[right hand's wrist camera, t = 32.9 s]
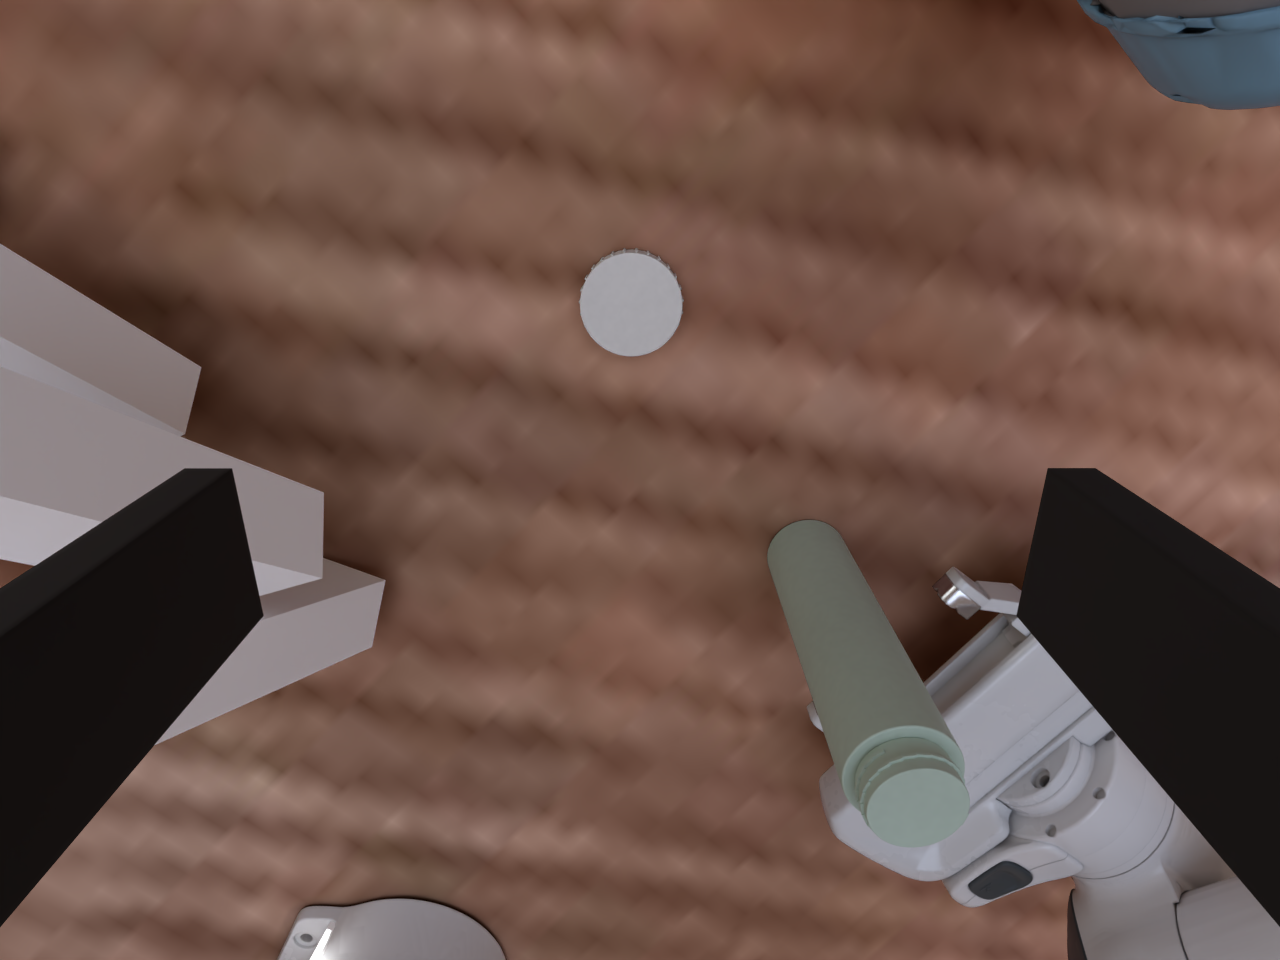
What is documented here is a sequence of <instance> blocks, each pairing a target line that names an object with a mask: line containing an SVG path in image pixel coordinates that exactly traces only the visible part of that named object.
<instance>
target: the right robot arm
mask: <svg viewBox="0 0 1280 960" xmlns="http://www.w3.org/2000/svg"><path fill="white" fill-rule="evenodd" d="M1077 1H1078V3H1079V4H1080V6H1081V8H1082V9H1083V11H1084V12H1085V14H1087V15H1088V16H1089V17H1090V18H1091V19H1092V20H1094V21H1095V22H1096V23H1099V24H1101V25H1103V26H1105V27H1107V28H1108V30H1109V31H1110V32H1111V34H1112V35H1113V36H1114V38H1115V39H1116V40H1117V42H1118V43H1119V44H1120V46H1121V47H1122V48H1123V50H1124V51H1125V52H1126V54H1127V55H1128V57H1129V58H1130V59H1131V61H1132V62H1133V63H1134V65H1135V66H1136V67H1137V69H1138V70H1139V71H1140V73H1141V74H1142V75H1143V77H1144V78H1145V79H1146V80H1147V82H1148V83H1149V84H1150V85H1151V86H1152V87H1154V88H1155V89H1156V90H1158V91H1159V92H1160V93H1162V94H1163V95H1165V96H1167V97H1169V98H1171V99H1173V100H1175V101H1181V102H1187V103H1194V104H1202V105H1204V106H1206V107H1209V108H1213V109H1223V110H1235V109H1254V108H1265V107H1273V106H1280V0H1077ZM263 616H264V615H263V610H262V606H261V601H260V596H259V592H258V587H257V582H256V577H255V573H254V568H253V563H252V559H251V554H250V549H249V545H248V540H247V535H246V531H245V526H244V521H243V517H242V512H241V507H240V503H239V498H238V493H237V489H236V484H235V479H234V475H233V470H232V468H184V469H183V470H181V471H180V472H178V473H177V474H175V475H174V476H172V477H170V478H169V479H167V480H166V481H164V482H163V483H161V484H160V485H158V486H157V487H155V488H154V489H152V490H151V491H149V492H147V493H146V494H144V495H143V496H141V497H140V498H138V499H137V500H135V501H134V502H132V503H131V504H129V505H128V506H126V507H124V508H123V509H121V510H120V511H118V512H117V513H115V514H114V515H112V516H111V517H109V518H108V519H106V520H105V521H103V522H101V523H100V524H98V525H97V526H95V527H94V528H92V529H91V530H89V531H88V532H86V533H85V534H83V535H82V536H80V537H78V538H77V539H75V540H74V541H72V542H71V543H69V544H68V545H66V546H65V547H63V548H62V549H60V550H59V551H57V552H55V553H54V554H52V555H51V556H49V557H48V558H46V559H45V560H43V561H42V562H40V563H39V564H37V565H36V566H34V567H32V568H31V569H29V570H28V571H26V572H25V573H23V574H22V575H20V576H19V577H17V578H16V579H14V580H13V581H11V582H9V583H8V584H6V585H5V586H3V587H2V588H0V927H1V926H2V924H3V923H4V922H5V921H6V920H7V918H8V917H9V916H10V915H11V914H12V913H13V911H14V910H15V909H16V908H17V907H18V905H19V904H20V903H21V902H22V901H23V900H24V898H25V897H26V896H27V895H28V894H29V892H30V891H31V890H32V889H33V888H34V887H35V885H36V884H37V883H38V882H39V881H40V879H41V878H42V877H43V876H44V875H45V874H46V872H47V871H48V870H49V869H50V868H51V866H52V865H53V864H54V863H55V862H56V861H57V859H58V858H59V857H60V856H61V855H62V853H63V852H64V851H65V850H66V849H67V848H68V846H69V845H70V844H71V843H72V842H73V841H74V839H75V838H76V837H77V836H78V835H79V833H80V832H81V831H82V830H83V829H84V828H85V826H86V825H87V824H88V823H89V822H90V820H91V819H92V818H93V817H94V816H95V815H96V813H97V812H98V811H99V810H100V809H101V807H102V806H103V805H104V804H105V803H106V802H107V800H108V799H109V798H110V797H111V796H112V794H113V793H114V792H115V791H116V790H117V789H118V787H119V786H120V785H121V784H122V783H123V781H124V780H125V779H126V778H127V777H128V776H129V774H130V773H131V772H132V771H133V770H134V768H135V767H136V766H137V765H138V764H139V763H140V761H141V760H142V759H143V758H144V757H145V755H146V754H147V753H148V752H149V751H150V750H151V748H152V747H153V746H154V745H155V744H156V742H157V741H158V740H159V739H160V738H161V737H162V735H163V734H164V733H165V732H166V731H167V729H168V728H169V727H170V726H171V725H172V724H173V722H174V721H175V720H176V719H177V718H178V716H179V715H180V714H181V713H182V712H183V711H184V709H185V708H186V707H187V706H188V705H189V703H190V702H191V701H192V700H193V699H194V698H195V696H196V695H197V694H198V693H199V692H200V690H201V689H202V688H203V687H204V686H205V685H206V683H207V682H208V681H209V680H210V679H211V677H212V676H213V675H214V674H215V673H216V672H217V670H218V669H219V668H220V667H221V666H222V664H223V663H224V662H225V661H226V660H227V659H228V657H229V656H230V655H231V654H232V653H233V652H234V650H235V649H236V648H237V647H238V646H239V644H240V643H241V642H242V641H243V640H244V639H245V637H246V636H247V635H248V634H249V633H250V631H251V630H252V629H253V628H254V627H255V626H256V624H257V623H258V622H259V621H260V620H261V618H262V617H263ZM1016 616H1017V617H1018V618H1019V620H1020V621H1021V622H1022V623H1023V624H1024V626H1025V627H1026V628H1027V629H1028V630H1029V631H1030V633H1031V634H1032V635H1033V636H1034V637H1035V639H1036V640H1037V641H1038V642H1039V643H1040V644H1041V646H1042V647H1043V648H1044V649H1045V650H1046V652H1047V653H1048V654H1049V655H1050V656H1051V657H1052V659H1053V660H1054V661H1055V662H1056V663H1057V664H1058V666H1059V667H1060V668H1061V669H1062V670H1063V672H1064V673H1065V674H1066V675H1067V676H1068V677H1069V679H1070V680H1071V681H1072V682H1073V683H1074V685H1075V686H1076V687H1077V688H1078V689H1079V690H1080V692H1081V693H1082V694H1083V695H1084V696H1085V698H1086V699H1087V700H1088V701H1089V702H1090V703H1091V705H1092V706H1093V707H1094V708H1095V709H1096V711H1097V712H1098V713H1099V714H1100V715H1101V716H1102V718H1103V719H1104V720H1105V721H1106V722H1107V724H1108V725H1109V726H1110V727H1111V728H1112V729H1113V731H1114V732H1115V733H1116V734H1117V735H1118V737H1119V738H1120V739H1121V740H1122V741H1123V742H1124V744H1125V745H1126V746H1127V747H1128V748H1129V750H1130V751H1131V752H1132V753H1133V754H1134V755H1135V757H1136V758H1137V759H1138V760H1139V761H1140V763H1141V764H1142V765H1143V766H1144V767H1145V768H1146V770H1147V771H1148V772H1149V773H1150V774H1151V776H1152V777H1153V778H1154V779H1155V780H1156V781H1157V783H1158V784H1159V785H1160V786H1161V787H1162V789H1163V790H1164V791H1165V792H1166V793H1167V794H1168V796H1169V797H1170V798H1171V799H1172V800H1173V802H1174V803H1175V804H1176V805H1177V806H1178V807H1179V809H1180V810H1181V811H1182V812H1183V813H1184V815H1185V816H1186V817H1187V818H1188V819H1189V820H1190V822H1191V823H1192V824H1193V825H1194V826H1195V828H1196V829H1197V830H1198V831H1199V832H1200V833H1201V835H1202V836H1203V837H1204V838H1205V839H1206V841H1207V842H1208V843H1209V844H1210V845H1211V846H1212V848H1213V849H1214V850H1215V851H1216V852H1217V853H1218V855H1219V856H1220V857H1221V858H1222V859H1223V861H1224V862H1225V863H1226V864H1227V865H1228V866H1229V868H1230V869H1231V870H1232V871H1233V872H1234V874H1235V875H1236V876H1237V877H1238V878H1239V879H1240V881H1241V882H1242V883H1243V884H1244V885H1245V887H1246V888H1247V889H1248V890H1249V891H1250V892H1251V894H1252V895H1253V896H1254V897H1255V898H1256V900H1257V901H1258V902H1259V903H1260V904H1261V905H1262V907H1263V908H1264V909H1265V910H1266V911H1267V913H1268V914H1269V915H1270V916H1271V917H1272V918H1273V920H1274V921H1275V922H1276V923H1277V924H1278V926H1279V927H1280V588H1278V587H1277V586H1275V585H1274V584H1272V583H1271V582H1269V581H1267V580H1266V579H1264V578H1263V577H1261V576H1260V575H1258V574H1257V573H1255V572H1254V571H1252V570H1251V569H1249V568H1248V567H1246V566H1244V565H1243V564H1241V563H1240V562H1238V561H1237V560H1235V559H1234V558H1232V557H1231V556H1229V555H1228V554H1226V553H1225V552H1223V551H1221V550H1220V549H1218V548H1217V547H1215V546H1214V545H1212V544H1211V543H1209V542H1208V541H1206V540H1205V539H1203V538H1202V537H1200V536H1198V535H1197V534H1195V533H1194V532H1192V531H1191V530H1189V529H1188V528H1186V527H1185V526H1183V525H1182V524H1180V523H1179V522H1177V521H1175V520H1174V519H1172V518H1171V517H1169V516H1168V515H1166V514H1165V513H1163V512H1162V511H1160V510H1159V509H1157V508H1156V507H1154V506H1152V505H1151V504H1149V503H1148V502H1146V501H1145V500H1143V499H1142V498H1140V497H1139V496H1137V495H1136V494H1134V493H1133V492H1131V491H1129V490H1128V489H1126V488H1125V487H1123V486H1122V485H1120V484H1119V483H1117V482H1116V481H1114V480H1113V479H1111V478H1110V477H1108V476H1106V475H1105V474H1103V473H1102V472H1100V471H1099V470H1097V469H1096V468H1048V470H1047V475H1046V479H1045V484H1044V489H1043V493H1042V498H1041V503H1040V507H1039V512H1038V517H1037V521H1036V526H1035V531H1034V535H1033V540H1032V545H1031V549H1030V554H1029V559H1028V563H1027V568H1026V573H1025V577H1024V582H1023V587H1022V592H1021V596H1020V601H1019V606H1018V610H1017V615H1016Z"/></svg>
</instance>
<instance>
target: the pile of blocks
mask: <svg viewBox="0 0 1280 960" xmlns="http://www.w3.org/2000/svg"><path fill="white" fill-rule="evenodd" d="M200 371H201V367H200V366H199V365H197V364H195V363H194V362H192V361H191V360H189V359H187V358H186V357H184V356H182V355H181V354H179V353H178V352H176V351H174V350H173V349H171V348H169V347H168V346H166V345H165V344H163V343H161V342H160V341H158V340H156V339H155V338H153V337H151V336H150V335H148V334H147V333H145V332H143V331H142V330H140V329H138V328H137V327H135V326H134V325H132V324H130V323H129V322H127V321H125V320H124V319H122V318H121V317H119V316H117V315H116V314H114V313H112V312H111V311H109V310H108V309H106V308H104V307H103V306H101V305H99V304H98V303H96V302H94V301H93V300H91V299H90V298H88V297H86V296H85V295H83V294H81V293H80V292H78V291H77V290H75V289H73V288H72V287H70V286H68V285H67V284H65V283H64V282H62V281H60V280H59V279H57V278H55V277H54V276H52V275H50V274H49V273H47V272H46V271H44V270H42V269H41V268H39V267H37V266H36V265H34V264H33V263H31V262H29V261H28V260H26V259H24V258H23V257H21V256H20V255H18V254H16V253H15V252H13V251H11V250H10V249H8V248H6V247H5V246H3V245H2V244H0V559H2V560H7V561H13V562H18V563H23V564H29V565H34V566H36V565H37V564H39V563H40V562H42V561H43V560H45V559H46V558H48V557H49V556H51V555H52V554H54V553H55V552H57V551H59V550H60V549H62V548H63V547H65V546H66V545H68V544H69V543H71V542H72V541H74V540H75V539H77V538H78V537H80V536H82V535H83V534H85V533H86V532H88V531H89V530H91V529H92V528H94V527H95V526H97V525H98V524H100V523H101V522H103V521H105V520H106V519H108V518H109V517H111V516H112V515H114V514H115V513H117V512H118V511H120V510H121V509H123V508H124V507H126V506H128V505H129V504H131V503H132V502H134V501H135V500H137V499H138V498H140V497H141V496H143V495H144V494H146V493H147V492H149V491H151V490H152V489H154V488H155V487H157V486H158V485H160V484H161V483H163V482H164V481H166V480H167V479H169V478H170V477H172V476H174V475H175V474H177V473H178V472H180V471H181V470H183V469H184V468H232V470H233V475H234V479H235V484H236V489H237V493H238V498H239V503H240V507H241V512H242V517H243V521H244V526H245V531H246V535H247V540H248V545H249V549H250V554H251V559H252V563H253V568H254V573H255V577H256V582H257V587H258V592H259V596H260V601H261V606H262V610H263V615H264V616H263V617H262V618H261V620H260V621H259V622H258V623H257V624H256V626H255V627H254V628H253V629H252V630H251V631H250V633H249V634H248V635H247V636H246V637H245V639H244V640H243V641H242V642H241V643H240V644H239V646H238V647H237V648H236V649H235V650H234V652H233V653H232V654H231V655H230V656H229V657H228V659H227V660H226V661H225V662H224V663H223V664H222V666H221V667H220V668H219V669H218V670H217V672H216V673H215V674H214V675H213V676H212V677H211V679H210V680H209V681H208V682H207V683H206V685H205V686H204V687H203V688H202V689H201V690H200V692H199V693H198V694H197V695H196V696H195V698H194V699H193V700H192V701H191V702H190V703H189V705H188V706H187V707H186V708H185V709H184V711H183V712H182V713H181V714H180V715H179V716H178V718H177V719H176V720H175V721H174V722H173V724H172V725H171V726H170V727H169V728H168V729H167V731H166V732H165V733H164V734H163V735H162V737H161V738H160V739H159V740H158V741H157V742H156V744H158V743H161V742H163V741H165V740H167V739H169V738H172V737H174V736H176V735H178V734H180V733H183V732H185V731H187V730H189V729H192V728H194V727H196V726H198V725H200V724H203V723H205V722H207V721H209V720H211V719H214V718H216V717H218V716H220V715H223V714H225V713H227V712H229V711H231V710H234V709H236V708H238V707H240V706H242V705H245V704H247V703H249V702H251V701H253V700H256V699H258V698H260V697H262V696H265V695H267V694H269V693H271V692H273V691H276V690H278V689H280V688H282V687H284V686H287V685H289V684H291V683H293V682H296V681H298V680H300V679H302V678H304V677H307V676H309V675H311V674H313V673H315V672H318V671H320V670H322V669H324V668H327V667H329V666H331V665H333V664H335V663H338V662H340V661H342V660H344V659H346V658H349V657H351V656H353V655H355V654H358V653H360V652H362V651H364V650H366V649H369V648H371V647H372V645H373V640H374V635H375V630H376V625H377V620H378V615H379V610H380V605H381V600H382V595H383V590H384V586H385V581H386V580H384V579H381V578H379V577H376V576H373V575H370V574H367V573H365V572H362V571H359V570H356V569H353V568H351V567H348V566H345V565H342V564H339V563H337V562H334V561H331V560H328V559H325V558H323V518H324V492H322V491H319V490H316V489H314V488H311V487H309V486H306V485H304V484H301V483H298V482H296V481H293V480H291V479H288V478H286V477H283V476H280V475H278V474H275V473H273V472H270V471H268V470H265V469H262V468H260V467H257V466H255V465H252V464H250V463H247V462H245V461H242V460H239V459H237V458H234V457H232V456H229V455H227V454H224V453H221V452H219V451H216V450H214V449H211V448H209V447H206V446H203V445H201V444H198V443H196V442H193V441H191V440H188V439H185V438H183V437H180V436H182V435H184V434H185V433H186V428H187V424H188V420H189V416H190V412H191V408H192V404H193V400H194V396H195V392H196V388H197V384H198V379H199V375H200ZM156 744H155V745H156Z"/></svg>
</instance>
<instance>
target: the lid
mask: <svg viewBox="0 0 1280 960" xmlns="http://www.w3.org/2000/svg"><path fill="white" fill-rule="evenodd" d="M591 269H592V270H591V272H590V273H589V275H586V277H585V280H586V281H585V283H584V285H583V286H582V288H581V290H580V291H582V292H581V297H580V300H579V303H580V315H581V317H582V320H583V323H584V327H585V328H586V330H587V332H588V333H589V334H590V336H591V337H592V338H593V340H594V341H595V342H596V343H598V344H599V345H600V346H601V347H603V348H604V349H606V350H608V351H610V352H612V353H614V354H617V355H622V356H631V357H632V356H641V355H645V354H648V353H651V352H653V351H655V350H657V349H659V348H660V347H662V346H663V345H664V344H665V343H666V342H667V341H668V340H669V339H670V338H671V337H672V336H673V335H674V332H675V331H676V329H677V327H678V325H679V324H680V323H679V322H680V319H681V314H683V311H682V302H684V300H683V297H682V295H681V291H680V290H682V288H681V286H680V284H678V282H677V280H676V278H677V276H676V274H675V273H674V274H673V272H672V270H671V269H670V266H669V264H668V263H667V264H666V263H664V262H663V261H662V260H661V259H660V256H658V257H657V256H655V255H653V254H651V253H649V251H648V250H647V252H646V251H642V250H638V248H635V250H634V249H628V250H626V248H623V250H621V251H617V252H614V251H612V253H611V254H610V255H608V256H606V257H602V258H601V260H600V261H599V262H598V263H597V264H596V265H593V266H592V268H591Z"/></svg>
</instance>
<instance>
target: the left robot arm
mask: <svg viewBox="0 0 1280 960" xmlns="http://www.w3.org/2000/svg"><path fill="white" fill-rule="evenodd" d="M932 587H933V589H934V590H935V591H937V592H938V596H939V597H940V598H941V599H942V601H944V602H945V603H946V604H947V605H948V606H949V607H951V608H955V610H956V611H957V612H958V613H959V614H960V615H961V616H963V617H964V618H965V619H967V620H968V619H969V618H970V617H971V616H972V615H973V614H974V613H976V612H977V611H978V610H979V609H980V610H986V611H992V612H999V614H998V615H997V616H996V617H995V618H994V619H992V620H991V621H990V622H989V623H988V624H987V625H986V626H985V627H984V628H983V629H982V630H980V631H979V632H978V633H977V634H976V635H975V636H974V637H973V638H972V639H971V640H970V641H968V642H967V643H966V644H965V645H964V646H963V647H962V648H961V649H960V650H959V651H957V652H956V653H955V654H954V655H953V656H952V657H951V658H950V659H949V660H948V661H946V662H945V663H944V664H943V665H942V666H941V667H940V668H939V669H938V670H937V671H936V672H934V673H933V674H932V675H931V676H930V677H929V678H928V679H927V680H926V681H925V682H924V683H923V684H924V685H925V687H926V689H927V691H928V692H929V694H930V696H931V698H932V700H933V701H934V703H935V705H936V707H937V709H938V710H939V712H940V714H941V716H942V717H943V719H944V721H945V723H946V725H947V726H948V728H949V730H950V732H951V734H952V735H953V737H954V739H955V741H956V742H957V744H958V746H959V748H960V750H961V752H962V754H963V757H964V763H965V772H964V779H965V787H966V789H967V790H968V793H969V798H970V807H969V812H968V814H969V815H968V817H967V818H966V820H965V822H964V824H963V825H961V826H960V827H959V828H958V829H957V830H956V831H955V832H954V833H953V834H952V835H950V836H949V837H947V838H945V839H944V840H942V841H939V842H937V843H935V844H931V845H928V846H923V847H900V846H895V845H892V844H890V843H887V842H885V841H883V840H882V839H880V838H879V837H878V836H877V835H876V834H875V833H874V832H873V831H872V830H871V829H870V828H869V827H868V826H867V825H866V823H865V821H864V819H863V817H862V815H861V812H860V811H858V810H857V809H856V808H855V807H854V806H852V804H851V803H850V802H849V801H848V799H847V798H846V796H845V794H844V792H843V789H842V786H841V783H840V780H839V777H838V774H837V771H836V768H835V765H832V766H831V767H830V768H829V769H828V770H827V771H826V772H825V773H824V774H823V775H822V776H821V777H820V779H819V789H820V796H821V801H822V805H823V809H824V813H825V816H826V819H827V822H828V824H829V826H830V828H831V830H832V832H833V833H834V835H835V836H836V837H837V838H838V839H839V840H840V841H842V842H843V843H844V844H846V845H847V846H849V847H850V848H852V849H854V850H855V851H857V852H859V853H860V854H862V855H864V856H866V857H867V858H869V859H871V860H873V861H874V862H876V863H878V864H880V865H882V866H884V867H886V868H888V869H890V870H892V871H894V872H896V873H898V874H901V875H903V876H905V877H908V878H911V879H915V880H919V881H938V880H942V882H943V884H944V885H945V887H946V889H947V891H948V892H949V894H950V895H951V897H952V898H953V899H954V900H955V901H957V902H958V903H960V904H961V905H963V906H966V907H979V906H982V905H985V904H987V903H990V902H992V901H994V900H996V899H999V898H1001V897H1003V896H1006V895H1008V894H1011V893H1013V892H1016V891H1019V890H1021V889H1024V888H1027V887H1030V886H1033V885H1036V884H1040V883H1044V882H1047V881H1052V880H1057V879H1061V878H1066V877H1069V876H1071V877H1072V879H1073V881H1074V883H1075V886H1076V888H1075V889H1072V890H1071V893H1070V896H1069V902H1068V913H1067V919H1068V923H1067V949H1068V960H1280V927H1279V926H1278V924H1277V923H1276V922H1275V921H1274V920H1273V918H1272V917H1271V916H1270V915H1269V914H1268V913H1267V911H1266V910H1265V909H1264V908H1263V907H1262V905H1261V904H1260V903H1259V902H1258V901H1257V900H1256V898H1255V897H1254V896H1253V895H1252V894H1251V892H1250V891H1249V890H1248V889H1247V888H1246V887H1245V885H1244V884H1243V883H1242V882H1241V881H1240V879H1239V878H1238V877H1237V876H1236V875H1235V874H1234V872H1233V871H1232V870H1231V869H1230V868H1229V866H1228V865H1227V864H1226V863H1225V862H1224V861H1223V859H1222V858H1221V857H1220V856H1219V855H1218V853H1217V852H1216V851H1215V850H1214V849H1213V848H1212V846H1211V845H1210V844H1209V843H1208V842H1207V841H1206V839H1205V838H1204V837H1203V836H1202V835H1201V833H1200V832H1199V831H1198V830H1197V829H1196V828H1195V826H1194V825H1193V824H1192V823H1191V822H1190V820H1189V819H1188V818H1187V817H1186V816H1185V815H1184V813H1183V812H1182V811H1181V810H1180V809H1179V807H1178V806H1177V805H1176V804H1175V803H1174V802H1173V800H1172V799H1171V798H1170V797H1169V796H1168V794H1167V793H1166V792H1165V791H1164V790H1163V789H1162V787H1161V786H1160V785H1159V784H1158V783H1157V781H1156V780H1155V779H1154V778H1153V777H1152V776H1151V774H1150V773H1149V772H1148V771H1147V770H1146V768H1145V767H1144V766H1143V765H1142V764H1141V763H1140V761H1139V760H1138V759H1137V758H1136V757H1135V755H1134V754H1133V753H1132V752H1131V751H1130V750H1129V748H1128V747H1127V746H1126V745H1125V744H1124V742H1123V741H1122V740H1121V739H1120V738H1119V737H1118V735H1117V734H1116V733H1115V732H1114V731H1113V729H1112V728H1111V727H1110V726H1109V725H1108V724H1107V722H1106V721H1105V720H1104V719H1103V718H1102V716H1101V715H1100V714H1099V713H1098V712H1097V711H1096V709H1095V708H1094V707H1093V706H1092V705H1091V703H1090V702H1089V701H1088V700H1087V699H1086V698H1085V696H1084V695H1083V694H1082V693H1081V692H1080V690H1079V689H1078V688H1077V687H1076V686H1075V685H1074V683H1073V682H1072V681H1071V680H1070V679H1069V677H1068V676H1067V675H1066V674H1065V673H1064V672H1063V670H1062V669H1061V668H1060V667H1059V666H1058V664H1057V663H1056V662H1055V661H1054V660H1053V659H1052V657H1051V656H1050V655H1049V654H1048V653H1047V652H1046V650H1045V649H1044V648H1043V647H1042V646H1041V644H1040V643H1039V642H1038V641H1037V640H1036V639H1035V637H1034V636H1033V635H1032V634H1031V633H1030V631H1029V630H1028V629H1027V628H1026V627H1025V626H1024V624H1023V623H1022V622H1021V621H1020V620H1019V618H1018V617H1017V616H1016V615H1017V610H1018V606H1019V601H1020V596H1021V592H1022V591H1021V590H1020V589H1018V588H1017V587H1016V586H1014V585H1013V584H1012V583H1000V582H988V581H976V582H974V581H973V580H971V579H970V578H969V577H967V576H966V575H965V574H963V573H962V572H961V571H960V570H958V569H957V568H956V567H954V566H952V567H951V568H950V569H949V570H948V571H947V572H946V573H945V574H944V575H943V576H942V577H941V578H940V579H939V580H938V581H937V582H936V583H935V584H934V585H933V586H932ZM807 710H808V713H809V716H810V720H811V721H812V723H813V724H814V725H815V726H816V727H817V728H818V729H819V730H821V731H822V732H823V729H822V726H821V723H820V720H819V717H818V714H817V711H816V708H815V705H814V702H813V701H812V702H811V703H810V704H809V705H808V706H807ZM277 960H506V959H505V956H504V953H503V951H502V949H501V947H500V946H499V944H498V942H497V941H496V940H495V938H494V937H493V936H492V935H491V934H490V933H489V932H488V931H487V930H486V929H485V928H484V927H483V926H481V925H480V924H479V923H477V922H476V921H475V920H473V919H472V918H470V917H468V916H466V915H465V914H463V913H461V912H459V911H456V910H454V909H452V908H449V907H446V906H443V905H440V904H437V903H432V902H428V901H423V900H415V899H383V900H376V901H371V902H367V903H363V904H359V905H355V906H350V907H333V906H310V907H306V908H304V909H302V910H301V911H300V912H299V914H298V916H297V918H296V920H295V922H294V924H293V926H292V928H291V930H290V933H289V935H288V937H287V939H286V941H285V943H284V945H283V947H282V950H281V952H280V954H279V956H278V958H277Z"/></svg>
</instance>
